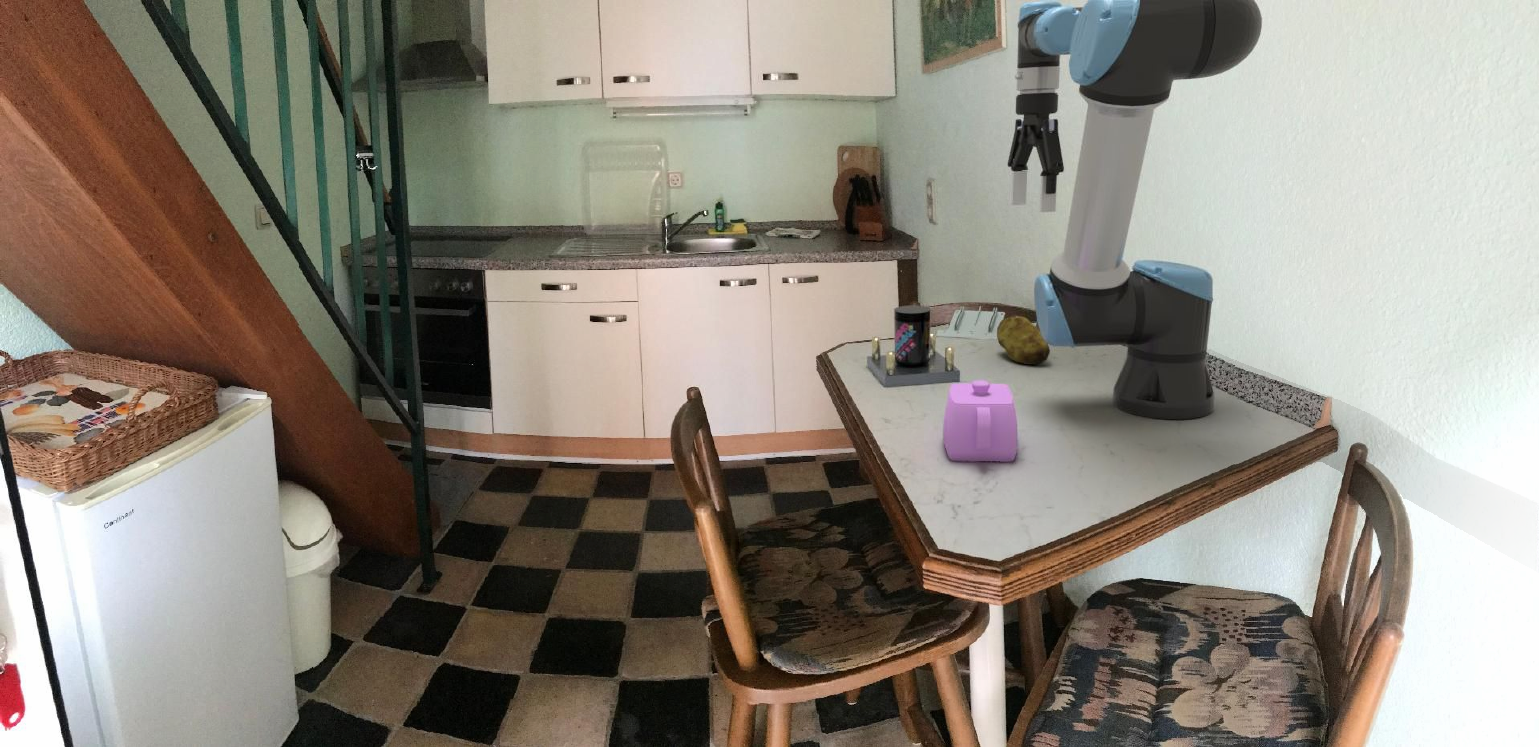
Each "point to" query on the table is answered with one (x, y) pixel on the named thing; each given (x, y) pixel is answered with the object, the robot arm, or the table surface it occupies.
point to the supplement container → (912, 336)
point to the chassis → (901, 376)
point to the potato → (1022, 340)
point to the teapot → (980, 422)
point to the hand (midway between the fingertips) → (1032, 208)
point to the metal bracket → (973, 324)
